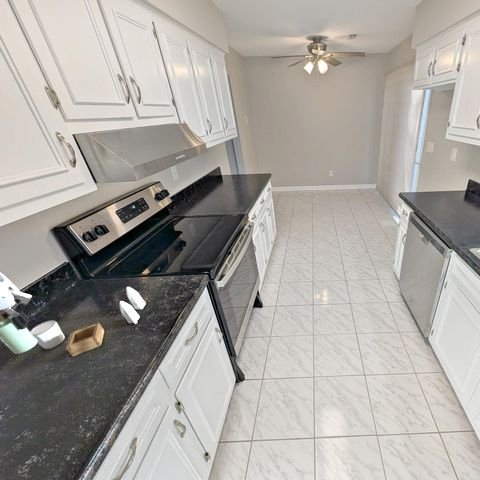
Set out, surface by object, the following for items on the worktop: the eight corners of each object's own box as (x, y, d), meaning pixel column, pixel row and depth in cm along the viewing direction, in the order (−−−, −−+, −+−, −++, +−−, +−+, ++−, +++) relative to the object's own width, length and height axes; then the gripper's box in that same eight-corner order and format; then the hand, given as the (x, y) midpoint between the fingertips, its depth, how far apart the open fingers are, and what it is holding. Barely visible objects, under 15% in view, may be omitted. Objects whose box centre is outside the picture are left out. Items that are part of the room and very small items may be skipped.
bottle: (10, 357, 64) (-22, 324, 59) (17, 344, 68) (-12, 312, 62) (34, 348, 66) (5, 316, 61) (40, 336, 70) (13, 305, 64)
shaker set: (138, 303, 102) (126, 282, 97) (149, 301, 103) (137, 280, 98) (124, 326, 92) (110, 303, 87) (137, 323, 93) (123, 300, 87)
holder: (72, 356, 82) (65, 348, 80) (77, 340, 88) (71, 332, 86) (101, 345, 85) (95, 337, 83) (104, 330, 91) (98, 322, 89)
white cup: (36, 347, 86) (23, 333, 83) (60, 332, 92) (49, 318, 88) (47, 353, 84) (34, 338, 80) (71, 336, 89) (60, 322, 86)
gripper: (17, 252, 62) (58, 308, 71) (-89, 276, 55) (-29, 335, 64) (3, 266, 56) (50, 325, 65) (-118, 296, 49) (-47, 357, 58)
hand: (10, 329), depth 64 cm, fingers closed on bottle, 4 cm apart
